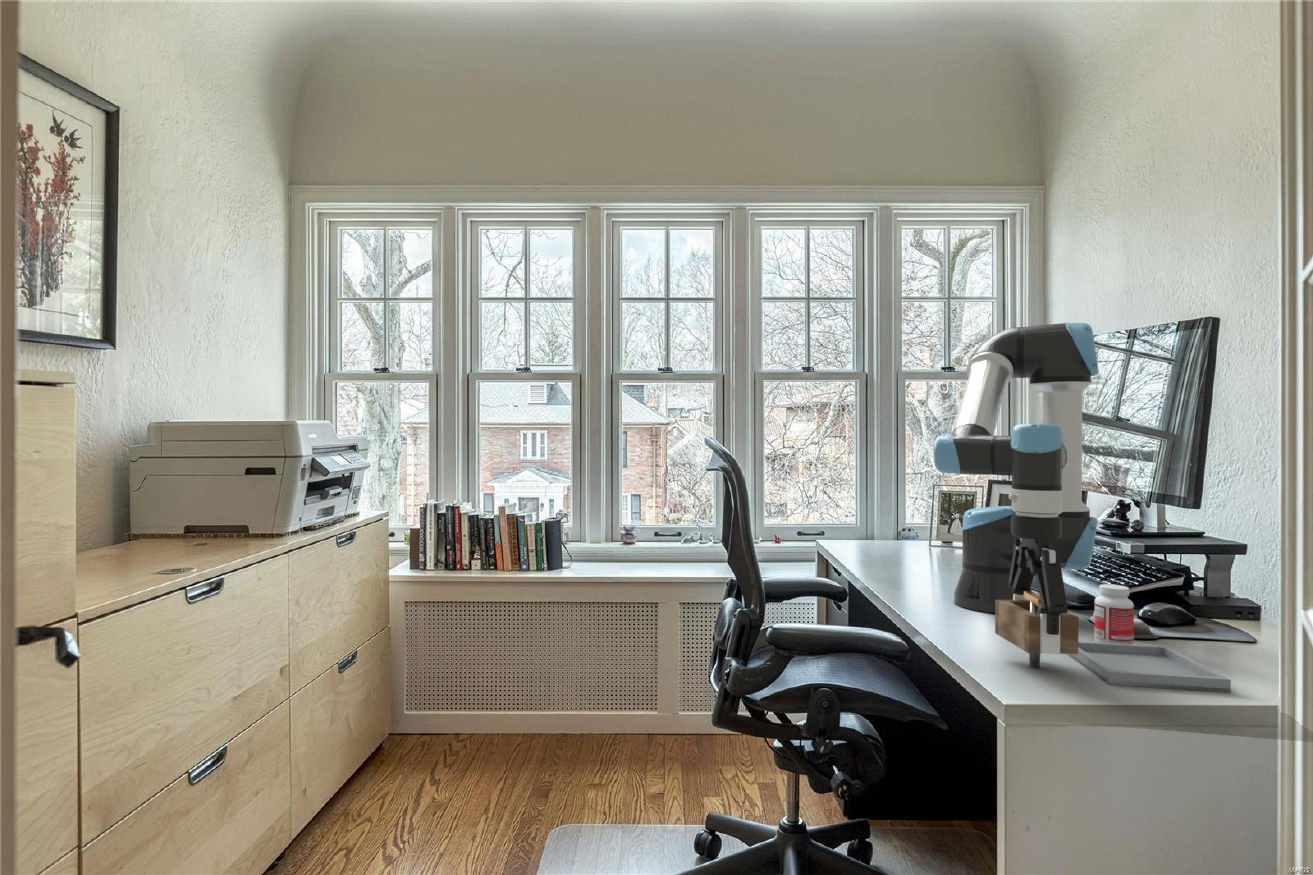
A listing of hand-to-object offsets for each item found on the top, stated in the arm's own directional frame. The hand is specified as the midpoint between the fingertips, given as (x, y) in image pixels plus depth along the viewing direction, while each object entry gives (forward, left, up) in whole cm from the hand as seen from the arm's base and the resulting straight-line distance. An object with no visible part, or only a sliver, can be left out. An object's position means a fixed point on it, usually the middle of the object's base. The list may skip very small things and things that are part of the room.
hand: (1035, 641), depth 113 cm
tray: (-2, +17, -4) cm, 18 cm away
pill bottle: (-17, +20, -5) cm, 26 cm away
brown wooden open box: (0, 0, 0) cm, 0 cm away
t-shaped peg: (0, 0, -4) cm, 4 cm away
